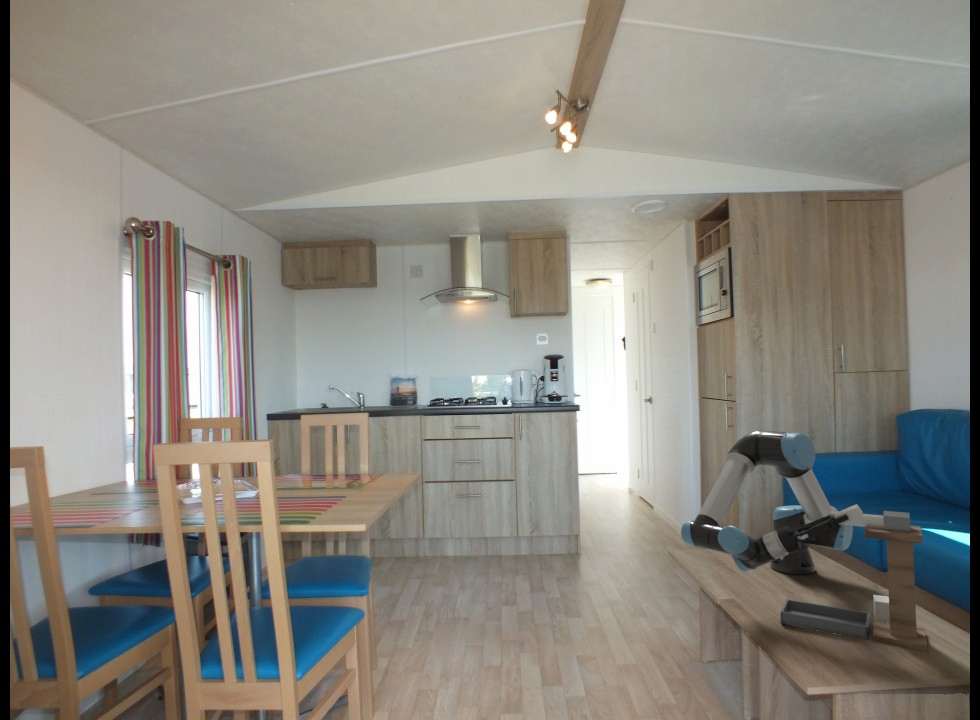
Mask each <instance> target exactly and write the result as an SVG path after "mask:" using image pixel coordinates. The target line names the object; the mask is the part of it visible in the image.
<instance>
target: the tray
mask: <svg viewBox="0 0 980 720" xmlns="http://www.w3.org/2000/svg"><path fill="white" fill-rule="evenodd" d="M780 624H781V625H783V624H787V625H786V626H789V625H791V626H790V627H794V626H796V628H800V627H803V628H802V629H805V628H807V630H810V629H813V630H812V631H816V630H818V631H817V632H821V631H823V632H822V633H827V632H829V633H828V634H832V633H836V634H835V635H837V634H841V635H840V636H843V635H845V637H848V636H851V637H850V638H854V637H855V639H859V638H860V640H865V641H869V640H870V633H871V632H870V630H871V615H870V612H868V611H861V610H855V609H849V608H843V607H836V606H830V605H823V604H819V603H813V602H806V601H800V600H795V599H794V600H793V599H789V598H787V599H785V602H784V604H783V606H782V608H781V611H780Z"/></svg>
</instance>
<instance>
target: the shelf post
mask: <svg viewBox="0 0 980 720" xmlns="http://www.w3.org/2000/svg"><path fill="white" fill-rule="evenodd" d="M864 538H865V539H875V540H881V541H882V540H884V541H886V552H887V553H886V554H887V555H886V558H887V560H886V561H887V579H888V580H887V582H888V585H887V586H888V597H889V613H890V623H887V622H881V621H875V620H873V628H872V629H873V630H872V641H873V642H875V643H881V644H886V645H891V646H898V647H903V648H908V649H914V650H919V651H925V652H927V651H928V649H927V639H926V631H925V628H922V627H921V628H920V627H917V608H916V586H915V585H916V582H915V581H916V579H915V559H914V558H915V556H914V544H919V545H923V534H922V529H921V525H920V526H919V525H911V524H910V533H906V532H896V531H886V530H884V529H882V528H872V527H864Z"/></svg>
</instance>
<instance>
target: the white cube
mask: <svg viewBox="0 0 980 720" xmlns="http://www.w3.org/2000/svg"><path fill="white" fill-rule="evenodd" d="M872 596H873V597H872V598H873V616H874V619H875V620H876V621H881V622H888V623H890V613H889V595H888V596H886V595H879V594H873V595H872Z"/></svg>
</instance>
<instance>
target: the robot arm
mask: <svg viewBox="0 0 980 720" xmlns="http://www.w3.org/2000/svg"><path fill="white" fill-rule="evenodd" d="M815 449H816V448H815V445H814V443H813V441H812V439H811V438H810V437H809V436H808V435H806V434H804V433H800V432H796V431H795V432H794V431H773V430H772V431H771V430H755V431H753V432H750V433H748V434H746V435H744V436H743V437H741V438H740V439H738V441H737V442H735V444H734V445H733V446H732V447H731V448H730V450H729V451H728V453H727V455H726V457H725V459H726V463H725V465H724V467H723V468H722V471H721V472H720V474H719V476H718V478H717V479H716V482H714V485H713V487H711V488H712V489H711V490H710V492H709V494H708V495H707V498H706V500H705V501H704V503H703V505H702V507H701V508H700V511H698V514H697V516H696V517H695V519H694V520H686V521H685V522H684V523H683V524H682V525H681V529H680V536H681V539H682V541H683V542H684V543H685V544H687V545H691V546H693V547H696V548H698V547H699V548H702V549H707V550H712V551H715V552H720V553H724V554H727V555H731V557H732V560H733V562H734V564H735V565H736V567H738V569H739V570H740V571H741V572H749V571H751V570H755V569H757V568H759V567H762V566H764V565H767V564H769V566H770V569H772V570H774V571H777V572H780V573H782V574H783V573H784V574H790V575H801V576H802V575H809V574H810V575H811V574H813V573H815V572H816V568H815V567H816V564H815V562H814V559H813V556H812V554H811V552H810V546H809V545H811V546H817V547H820V548H821V547H822V548H825V549H830V550H833V551H835V550H836V551H841V552H842V551H845V550H847V549H848V548H849V546H850V545H851V542H852V539H853V532H854V527H853V526H851V525H841V524H844V523H846V522H849V521H851V520H853V519H856V518H858V517H861V516H862V514H864V512H863V511H862V508H860V506H859V505H858V504H854V505H851V506H849V507H847V508H844V509H843V510H840V511H838V510H837V508H836V507H834V506H832V505H830V502H829V501H828V499H827V496H826V495H825V493H824V491H823V489H822V486H821V485H820V483H819V480H818V479H817V477H816V475H815V473H814V471H813V469H812V468H813V466H814V464H815V462H816V452H815ZM757 466H770V467H774V468H775V470H776V472H777V473H778V475H779V476H780V477H783V478H785V479H786V480H787V483H788V484H789V486H790V489H791V490H792V492H793V494H794V495H795V498H796V499H797V501H798V503H799V505H784V506H776V508H774V510H773V516H772V517H773V518H772V520H773V530H772V531H771V532H769V533H766V534H764V535H762V536H760V537H757V538H755V539H754V538H752V537H751V536H750V535H748V534H747V533H746V532H745V531H744V530H742V529H741V528H739V527H736V526H735V525H726V526H721V525H722V524H723V522H724V520H725V518H726V516H727V515H728V513H729V511H730V509H731V507H732V505H733V503H734V501H735V499H736V498H737V496H738V494H739V492H740V490H741V488H742V487H743V484H744V482H745V481H746V479H747V477H748V475H749V474H750V473H753V471H755V468H756V467H757ZM831 511H837V512H842V513H840V514H838V515H835V516H834V517H835V518H834V517H832V518H831V515H830V513H831Z"/></svg>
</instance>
